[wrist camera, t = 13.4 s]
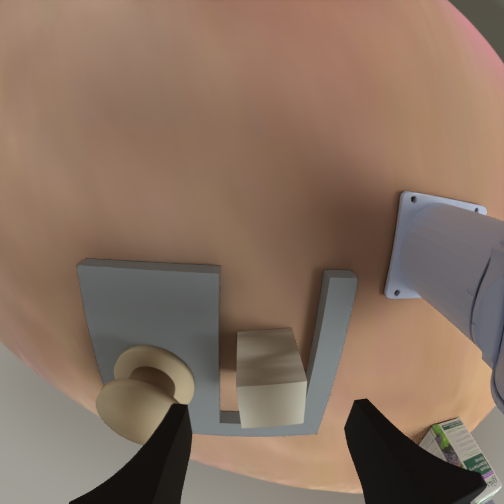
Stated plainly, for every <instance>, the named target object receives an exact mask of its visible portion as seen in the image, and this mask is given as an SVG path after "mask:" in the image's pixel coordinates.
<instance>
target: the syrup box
mask: <svg viewBox="0 0 504 504" xmlns="http://www.w3.org/2000/svg"><path fill="white" fill-rule="evenodd" d="M418 446H420V447H422V448H423V449H425V450H426V451H428V452H429V453H431V454H433V455H434V456H436V457H438V458H440V459H442V460H444V461H446V462H449V463H451V464H453V465H456V466H459V467H461V468H464V469H468V470H471V471H475V472H479V473H481V475H482V477H483V478H484V480H485V482H486V483H487V487H486V489H485V490H484V491H483V492H482V493H481V494H480V495H479V496H477V497H476V498H475V499H474V500H473V501H472V502H470V503H471V504H483V503H484V502H485V501H487V500H488V499H490V498H491V497H492V496H493V495H494V494H495V493H496V492H497V491H498V490H499V489H500V488H501V487H502V484H501V482H500V480H499V479H498V477H497V475H496V473H495V472H494V470H493V468H492V467H491V465H490V464H489V462H488V460H487V459H486V457H485V456H484V454H483V452H482V451H481V450H480V448H479V446H478V445H477V443H476V442H475V440H474V439H473V437H472V436H471V434H470V432H469V431H468V429H467V428H466V426H465V425H464V423H463V422H462V420H461V419H460V418H459V417H457V418H456V419H453V420H450V421H447V422H443V423H440V424H435V425H433V426H432V427H431V428H430V430H429V431H428V433H427V434H426V435H425V437H424V438H423V439H422V441H421V442H420V444H419V445H418Z"/></svg>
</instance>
